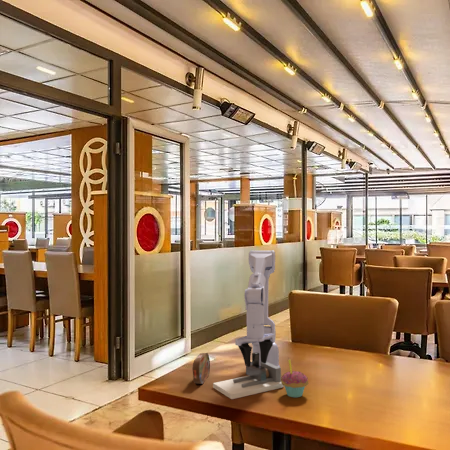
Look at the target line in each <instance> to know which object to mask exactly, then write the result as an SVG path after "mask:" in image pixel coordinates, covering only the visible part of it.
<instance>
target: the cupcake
mask: <svg viewBox="0 0 450 450" xmlns="http://www.w3.org/2000/svg"><path fill="white" fill-rule="evenodd" d="M287 361H288V366H289V371H288V372H285V373H284V374H283V375H281V383H282V385H284V387H283V388H284V389H285V392H286V395H287V396H288V397H289V398H290V397H291V398H300V397H302V396H303V393H304V390H305V388H306V387H307V386H309V379H308V377H307V376H306V375H305V374H304V373H303V372H301V371H297V370H295V371H294V370H293V369H292V362H291V359H290V358H288V360H287Z"/></svg>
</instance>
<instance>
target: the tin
mask: <svg viewBox="0 0 450 450" xmlns="http://www.w3.org/2000/svg"><path fill="white" fill-rule="evenodd" d="M210 371H211V359H210V355H209V353H208V352H204V353H203V352H201V353H199V354H198V355H197V356H196V357H195V359H194V360H193V363H192V378H193V380H192V381H193V383H194V384H196V385H203V384H204V383H205V382H206V380H207V379H208V378H209V376H210Z"/></svg>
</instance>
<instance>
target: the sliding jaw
mask: <svg viewBox="0 0 450 450" xmlns="http://www.w3.org/2000/svg"><path fill="white" fill-rule="evenodd" d="M245 374H246V376H251V377H253V378H255V379H257V380H258V381H260V382H262V381H266V368H264V367H262V366H260V365H259V353H257V352H254V353H253V352H251V361H250V366H249V367H248V366H246V365H245Z"/></svg>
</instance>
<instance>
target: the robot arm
mask: <svg viewBox="0 0 450 450" xmlns="http://www.w3.org/2000/svg"><path fill="white" fill-rule="evenodd" d="M248 265H249V268H250V272H251V273H252V274H250V275H249V280H248V285H247V288H245V289H244V295H243V296H244V298H243V299H244V304H245V305H244V306H245V311H246V335H245V336H242V337H239V338H238V337H237V338H235V339H234V340H235V342H234V343H235V344H234V345H235V346H237V347H238V349H239V350H240V352H241V355H242V357H243V361H244V365H245V367H246V366H248V367H249V366H250V362H251V357H252V353H254V352H257V353H259V365H260V366H261V363H260V362H262V363H266V362H269V363H271V364H273V365H275V366H278V367H280V368H281V365H280V359H279V357H280V355H279V347H278V344H277V343H276V338H277V337H276V333H277V332H276V323H275V322H274V320H273V319H271V318H270V317H269V285H270V283H269V280H270V276H271V274H274V273H275V270H276V251H275V250H274V249H272V250H268V249H267V250H264V249H263V250H255V249H254V250H253V249H251V250H249V252H248ZM250 344H251V345H252V346H251V345H250Z"/></svg>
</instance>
